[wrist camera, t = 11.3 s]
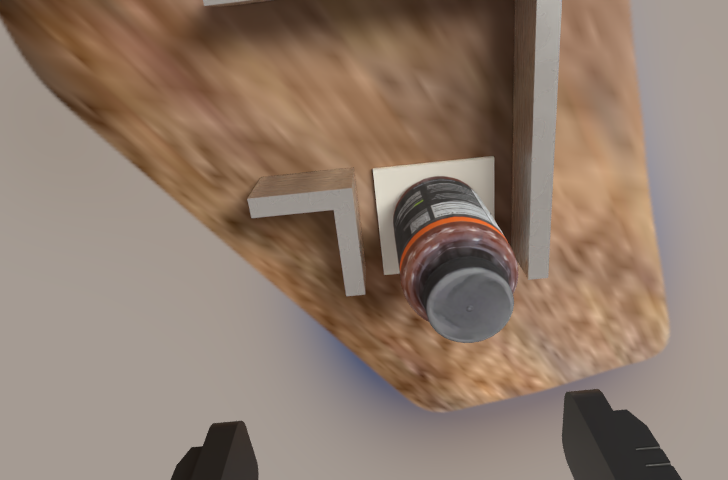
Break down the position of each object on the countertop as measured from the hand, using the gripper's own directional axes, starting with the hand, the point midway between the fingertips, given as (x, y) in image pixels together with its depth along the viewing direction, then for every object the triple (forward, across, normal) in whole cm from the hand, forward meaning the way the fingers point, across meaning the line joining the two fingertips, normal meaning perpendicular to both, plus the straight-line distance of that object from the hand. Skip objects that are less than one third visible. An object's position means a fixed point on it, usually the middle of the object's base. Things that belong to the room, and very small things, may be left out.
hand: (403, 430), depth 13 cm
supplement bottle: (+21, -3, +4) cm, 22 cm away
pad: (+21, -3, +4) cm, 22 cm away
